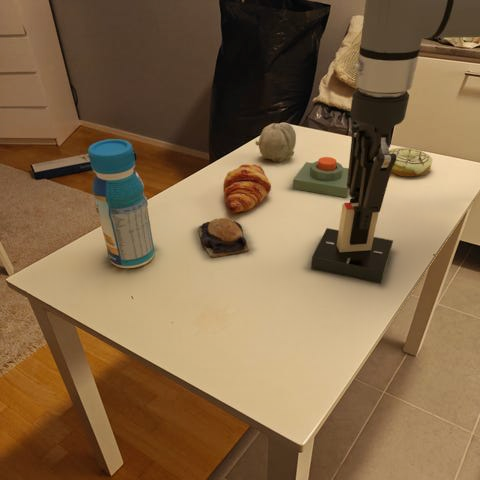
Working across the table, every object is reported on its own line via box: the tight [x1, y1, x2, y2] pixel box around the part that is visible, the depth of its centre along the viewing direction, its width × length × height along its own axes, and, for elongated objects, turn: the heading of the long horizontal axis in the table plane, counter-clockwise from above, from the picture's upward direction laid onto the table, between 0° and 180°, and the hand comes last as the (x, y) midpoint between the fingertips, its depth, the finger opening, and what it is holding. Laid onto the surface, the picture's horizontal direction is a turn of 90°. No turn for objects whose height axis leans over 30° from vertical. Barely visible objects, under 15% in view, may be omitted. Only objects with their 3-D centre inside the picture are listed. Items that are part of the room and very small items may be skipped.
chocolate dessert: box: [197, 217, 250, 258], centre depth 86 cm, size 11×8×4 cm
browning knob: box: [337, 202, 380, 252], centre depth 77 cm, size 6×2×8 cm, turn 96°
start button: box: [317, 156, 338, 171], centre depth 101 cm, size 4×4×2 cm
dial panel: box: [310, 227, 394, 284], centre depth 80 cm, size 12×10×3 cm
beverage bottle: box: [87, 138, 156, 269], centre depth 76 cm, size 8×8×20 cm
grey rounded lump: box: [254, 122, 297, 163], centre depth 111 cm, size 9×8×10 cm
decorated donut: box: [389, 147, 433, 177], centre depth 108 cm, size 10×11×4 cm
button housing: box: [292, 160, 350, 198], centre depth 103 cm, size 12×10×4 cm
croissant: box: [222, 163, 272, 214], centre depth 98 cm, size 21×10×8 cm, turn 166°
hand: (355, 238), depth 78 cm, fingers closed on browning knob, 2 cm apart
